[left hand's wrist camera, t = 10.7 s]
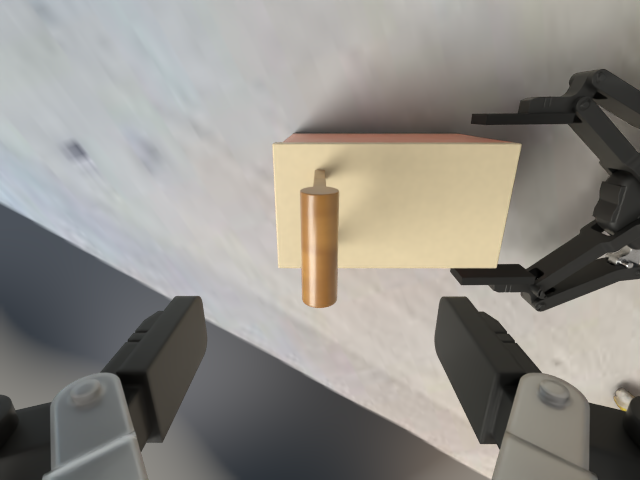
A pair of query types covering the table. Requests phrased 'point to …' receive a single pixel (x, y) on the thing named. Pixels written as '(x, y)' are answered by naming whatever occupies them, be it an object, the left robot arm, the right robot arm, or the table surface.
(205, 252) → the table surface
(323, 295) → the lid
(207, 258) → the table surface
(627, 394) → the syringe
